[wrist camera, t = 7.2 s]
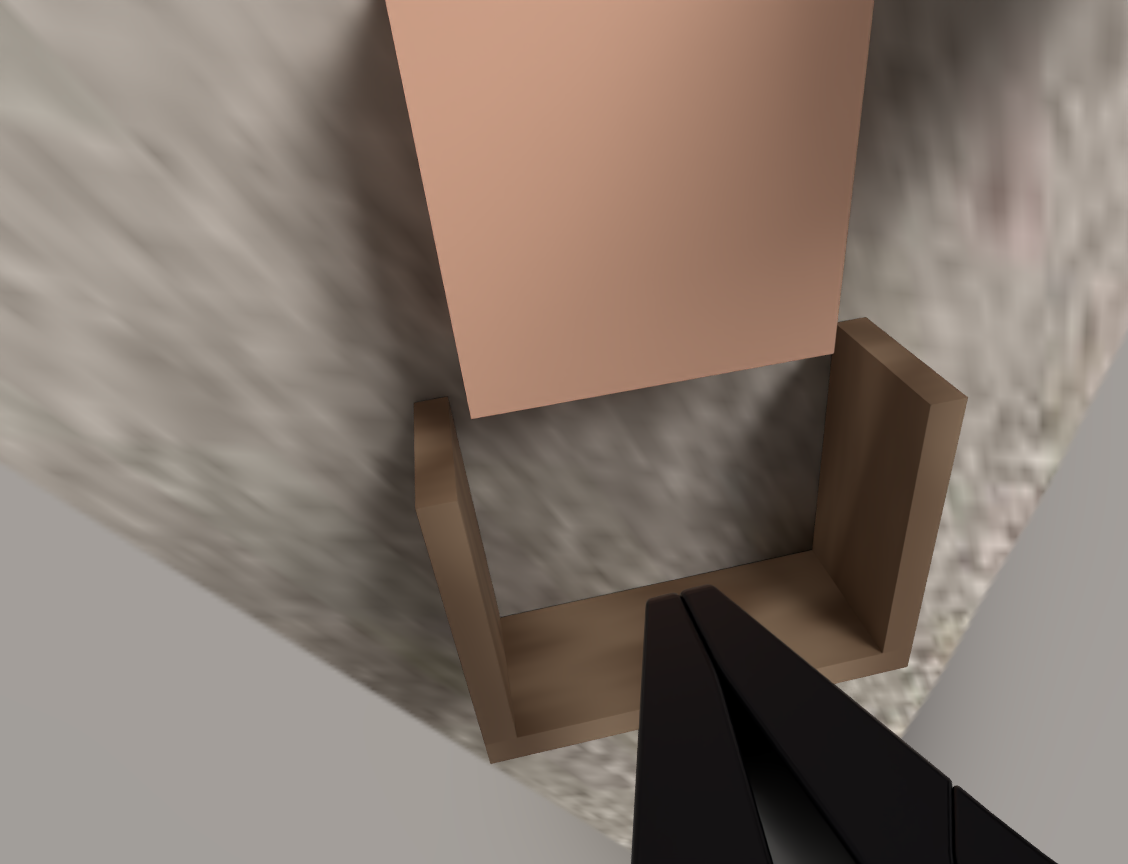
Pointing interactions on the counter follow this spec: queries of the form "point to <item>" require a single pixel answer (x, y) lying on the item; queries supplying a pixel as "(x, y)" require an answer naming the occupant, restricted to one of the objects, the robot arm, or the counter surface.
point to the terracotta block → (633, 184)
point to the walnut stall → (763, 589)
